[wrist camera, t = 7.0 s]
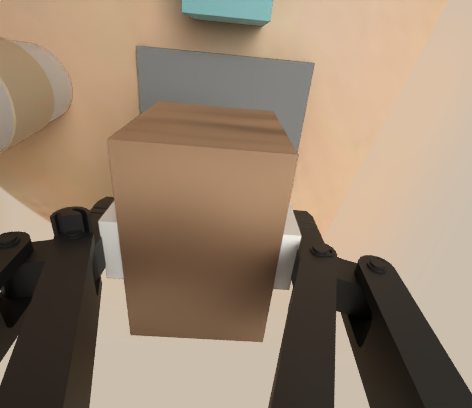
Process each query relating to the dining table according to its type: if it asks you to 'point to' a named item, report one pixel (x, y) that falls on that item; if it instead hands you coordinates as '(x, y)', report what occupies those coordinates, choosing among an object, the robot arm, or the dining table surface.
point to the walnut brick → (201, 218)
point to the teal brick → (230, 11)
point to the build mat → (226, 83)
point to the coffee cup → (29, 90)
